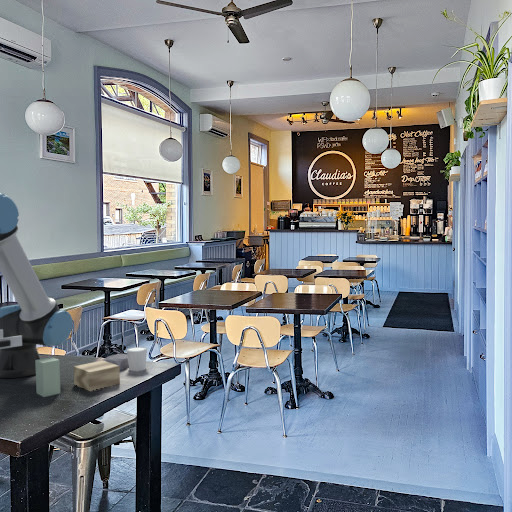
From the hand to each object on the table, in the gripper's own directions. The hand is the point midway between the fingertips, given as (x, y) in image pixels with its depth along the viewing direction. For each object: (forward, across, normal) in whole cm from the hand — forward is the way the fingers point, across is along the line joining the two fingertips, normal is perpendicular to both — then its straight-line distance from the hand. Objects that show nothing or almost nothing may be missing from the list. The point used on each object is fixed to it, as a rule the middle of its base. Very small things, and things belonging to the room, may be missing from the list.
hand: (11, 337), depth 152 cm
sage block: (+10, 0, -18) cm, 21 cm away
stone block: (+40, -13, -18) cm, 46 cm away
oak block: (+24, +2, -18) cm, 31 cm away
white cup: (+43, -4, -18) cm, 47 cm away
